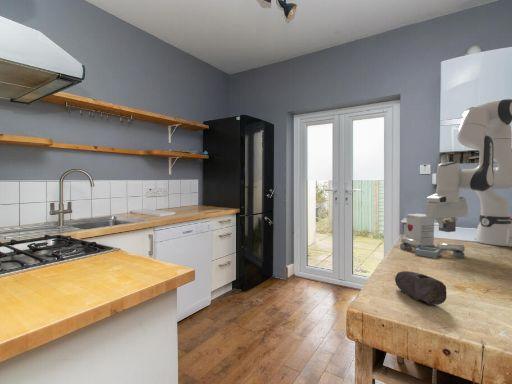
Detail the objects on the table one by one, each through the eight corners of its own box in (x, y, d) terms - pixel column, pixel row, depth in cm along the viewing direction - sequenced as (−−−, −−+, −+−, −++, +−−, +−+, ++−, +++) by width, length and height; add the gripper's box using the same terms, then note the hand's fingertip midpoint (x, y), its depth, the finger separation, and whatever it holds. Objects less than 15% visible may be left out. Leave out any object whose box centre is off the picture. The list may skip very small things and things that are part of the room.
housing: (420, 251, 125) (420, 246, 125) (440, 254, 120) (440, 249, 120) (414, 254, 120) (415, 249, 120) (435, 258, 114) (435, 252, 114)
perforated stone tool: (388, 288, 82) (389, 265, 82) (403, 286, 84) (404, 264, 83) (431, 311, 68) (432, 283, 68) (448, 308, 69) (449, 281, 69)
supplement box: (405, 242, 143) (405, 214, 143) (418, 241, 146) (419, 213, 145) (420, 246, 135) (421, 216, 134) (434, 245, 137) (435, 215, 137)
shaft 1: (423, 252, 124) (423, 241, 124) (415, 252, 123) (416, 241, 123) (406, 247, 133) (407, 237, 133) (399, 248, 132) (399, 237, 131)
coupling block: (446, 229, 130) (446, 218, 130) (455, 231, 125) (455, 220, 125) (438, 230, 129) (438, 219, 128) (447, 232, 124) (447, 220, 124)
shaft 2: (440, 256, 117) (440, 244, 116) (436, 254, 121) (436, 242, 121) (465, 258, 114) (465, 246, 114) (460, 255, 118) (460, 244, 118)
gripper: (459, 195, 132) (458, 224, 132) (423, 198, 127) (423, 227, 128) (472, 196, 125) (471, 226, 126) (435, 199, 121) (434, 230, 122)
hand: (447, 227), depth 127 cm, fingers closed on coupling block, 4 cm apart
